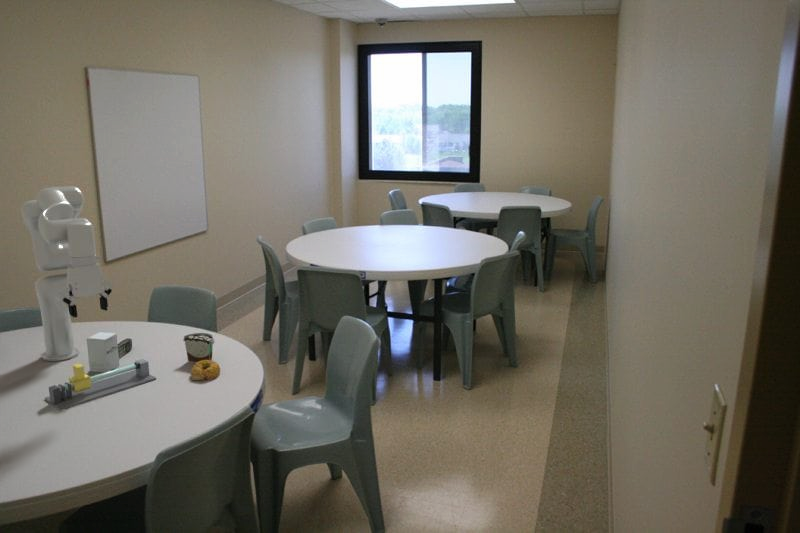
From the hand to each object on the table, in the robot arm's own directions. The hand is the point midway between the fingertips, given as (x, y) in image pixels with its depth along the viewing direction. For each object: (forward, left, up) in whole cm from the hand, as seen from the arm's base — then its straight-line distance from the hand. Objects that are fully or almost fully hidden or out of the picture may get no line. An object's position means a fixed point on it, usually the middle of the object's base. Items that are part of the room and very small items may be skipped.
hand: (89, 313), depth 204 cm
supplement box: (-19, +12, -28) cm, 36 cm away
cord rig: (-2, +2, -28) cm, 28 cm away
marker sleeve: (-2, -4, -25) cm, 26 cm away
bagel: (+14, +32, -28) cm, 45 cm away
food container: (+1, +40, -28) cm, 49 cm away
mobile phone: (-28, +23, -28) cm, 46 cm away
